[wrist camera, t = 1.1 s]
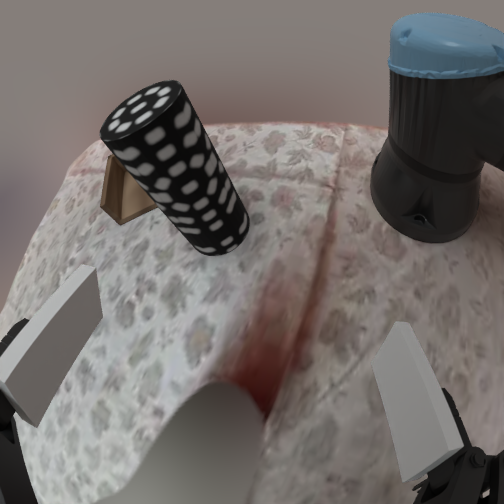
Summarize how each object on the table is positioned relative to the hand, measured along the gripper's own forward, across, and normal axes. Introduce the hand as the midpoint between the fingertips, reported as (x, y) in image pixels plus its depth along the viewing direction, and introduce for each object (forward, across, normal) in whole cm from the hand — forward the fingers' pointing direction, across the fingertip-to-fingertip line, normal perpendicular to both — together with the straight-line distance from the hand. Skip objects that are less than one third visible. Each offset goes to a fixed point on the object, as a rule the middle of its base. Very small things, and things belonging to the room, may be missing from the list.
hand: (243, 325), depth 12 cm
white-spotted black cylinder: (+26, -4, -7) cm, 28 cm away
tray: (+37, -18, -6) cm, 42 cm away
